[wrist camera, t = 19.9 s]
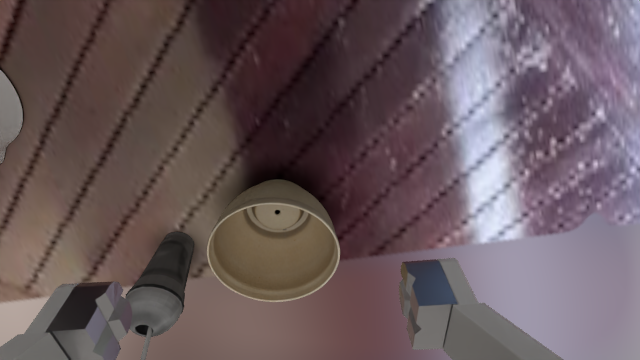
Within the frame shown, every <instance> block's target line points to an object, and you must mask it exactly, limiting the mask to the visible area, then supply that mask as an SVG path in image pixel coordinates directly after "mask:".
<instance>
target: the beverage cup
mask: <svg viewBox="0 0 640 360" xmlns="http://www.w3.org/2000/svg"><path fill="white" fill-rule="evenodd" d="M193 248H194V241H193V240H192V238H191V237H190V236H188V235H187V234H185V233H181V232H173V233H170V234H168V235H167V236H166V237H165V239H164V240H163V241H162V243H161V244H160V246H159V247H158V249H157V251H156V252H155V254H154V256H153V257H152V259H151V260H150V262H149V264H148V265H147V267H146V269H145V270H144V272H143V274H142V275H141V277H140V279H139V280H138V281H137V282H136V283H135V284H134V286H133V287H132V288H131V289H130V290H129V291H128V293H127V294H126V300H128V301H129V303H130V305H131V309H132V320H131V326H130V328H129V329H130V330H131V331H132V332H134V333H135V334H137V335H140V336H144V337H146V339H145V344H144V347H143V352H142V356H141V360H145V359H146V355H147V351H148V346H149V342H150V338H151V337H153V336H157V335H160V334H162V333H164V332H166V331H168V330H169V329H170V328H171V327H172V326H173V325H174V324H175V322H176V321H177V320H178V318H179V316H180V314H181V313H182V312H183V308H184V297H185V293H184V290H185V286H186V282H187V277H188V273H189V268H190V264H191V259H192V255H193Z"/></svg>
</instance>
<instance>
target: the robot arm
mask: <svg viewBox="0 0 640 360" xmlns="http://www.w3.org/2000/svg"><path fill="white" fill-rule="evenodd" d="M22 122H23V112H22V106H21V103H20V100H19V97H18V95H17V93H16V91H15V89H14V87H13V86H12V84H11V82H10V81H9V80H8V78H7V77H6V76H5V74H4V73H3V72H2V71H1V70H0V164H1V163H2V162H3V160H4V156H5V150H6V147H7V146H8V145H9V144H10V143H11V142H12V141H13V140H14V139H15V138H16V137H17V135H18V134H19V132H20V130H21V127H22ZM401 274H402V277H403V280H402V281H401V282H400V286H399V295H400V304H401V308H402V312H403V315H404V316H405V317H406V318H407V319H408V323H407V331H408V334H409V338H410V341H411V345H412V349H413V350H418V349H419V350H420V349H444V351H445V352H446V353H447V354H448V356H450V358H451V359H452V360H563V359H562V358H560V357H559V356H558V355H556V354H555V353H553V352H552V351H551V350H549V349H548V348H546V347H545V346H543V345H542V344H541V343H539V342H538V341H537V340H535V339H534V338H532V337H531V336H530V335H528V334H527V333H525V332H524V331H522V330H521V329H520V328H518V327H517V326H515V325H514V324H513V323H511V322H510V321H509V320H507V319H506V318H504V317H503V316H501V315H500V314H499V313H497V312H496V311H495V310H493V309H492V308H490V307H489V306H487V305H486V304H485V303H478V301H477V299H476V297H475V295H474V293H473V291H472V289H471V287H470V285H469V283H468V281H467V279H466V277H465V275H464V273H463V271H462V269H461V267H460V265H459V263H458V261H457V260H456V259H455V258H449V259H437V260H423V261H411V262H402V265H401ZM122 292H123V289H122V287H121V285H120V283H119V282H94V283H78V284H62V285H61V286H59V287H57V288H56V289H55V291H54V292H53V294H52V295H51V297H50V298H49V299H48V301H47V302H46V304H45V305H44V307H43V308H42V309H41V311H40V312H39V313H38V315H37V316H36V318H35V319H34V321H33V322H32V323H31V325H30V326H29V328H28V329H27V330H26V332H25V333H24V334H20V335H17V336H16V337H14V338H13V339H11V340H10V341H8V342H7V343H5V344H4V345H3V346H1V347H0V360H116V358H117V356H118V353H119V351H120V349H121V348H120V345H119V342H118V341H120V340H121V339H122V338H123V337H124V336H125V335H126V334H127V333H128V330H129V328H130V326H131V320H132V309H131V305H130V303H129V301H128V300H126V299H125V298H123V297H122V296H121V294H122Z"/></svg>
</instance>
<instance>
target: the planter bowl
mask: <svg viewBox="0 0 640 360" xmlns="http://www.w3.org/2000/svg"><path fill="white" fill-rule="evenodd" d="M276 210H280V213H279V214H276V213H275V211H276ZM207 257H208V262H209V265H210V267H211V269H212V271H213V273H214V274H215V276H216V277H217V278H218V279H219V280H220V281H221V282H222V283H223V284H224V285H225V286H226V287H228V288H229V289H231V290H232V291H234V292H236V293H238V294H240V295H243V296H245V297H248V298H251V299H255V300H260V301H268V302H282V301H289V300H295V299H298V298H302V297H304V296H307V295H309V294H311V293H313V292H315V291H317V290H318V289H319V288H321V287H322V286H324V285H325V283H326V282H328V281H329V279H330V278H331V277H332V276H333V274H334V272H335V271H336V269H337V266H338V263H339V259H340V247H339V242H338V239H337V236H336V233H335V231H334V227H333V224H332V222H331V219H330V217H329V215H328V213H327V212H326V210H325V208H324V207H323V206H322V204H321V203H320V202H319V201H318V200H317V199H316V198H315V197H314V196H313V195H311V194H310V193H309V192H307V191H306V190H304V189H302V188H301V187H300V186H298V185H296V184H295V183H292V182H290V181H286V180H279V179H275V180H268V181H265V182H262V183H260V184H258V185H256V186H253V187H251V188H249V189H247V190H245V191H244V192H242V193H241V194H240V195H238V196H237V197H236V198H235V199H234V200H233V201H232V202H231V203H230V204H229V205H228V206H227V207H226V208H225V210H224V211H223V213H222V214H221V216H220V218H219V220H218V222H217V224H216V225H215V227H214V229H213V230H212V233H211V235H210V238H209V241H208V245H207Z"/></svg>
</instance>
